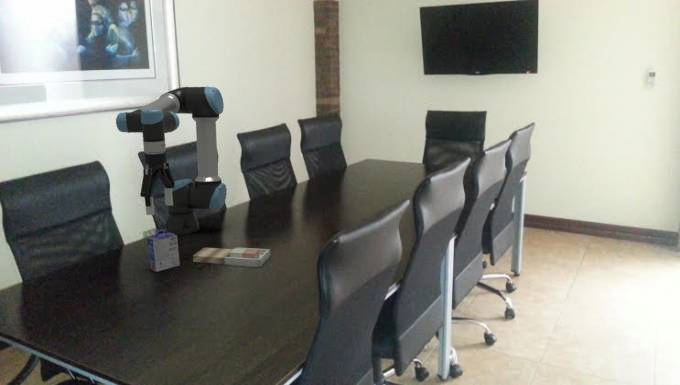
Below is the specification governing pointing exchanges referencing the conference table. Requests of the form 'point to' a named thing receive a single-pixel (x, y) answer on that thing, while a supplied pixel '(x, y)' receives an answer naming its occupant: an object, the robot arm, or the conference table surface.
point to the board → (212, 255)
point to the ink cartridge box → (163, 251)
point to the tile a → (237, 253)
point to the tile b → (250, 254)
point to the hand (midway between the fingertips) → (160, 209)
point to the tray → (249, 259)
